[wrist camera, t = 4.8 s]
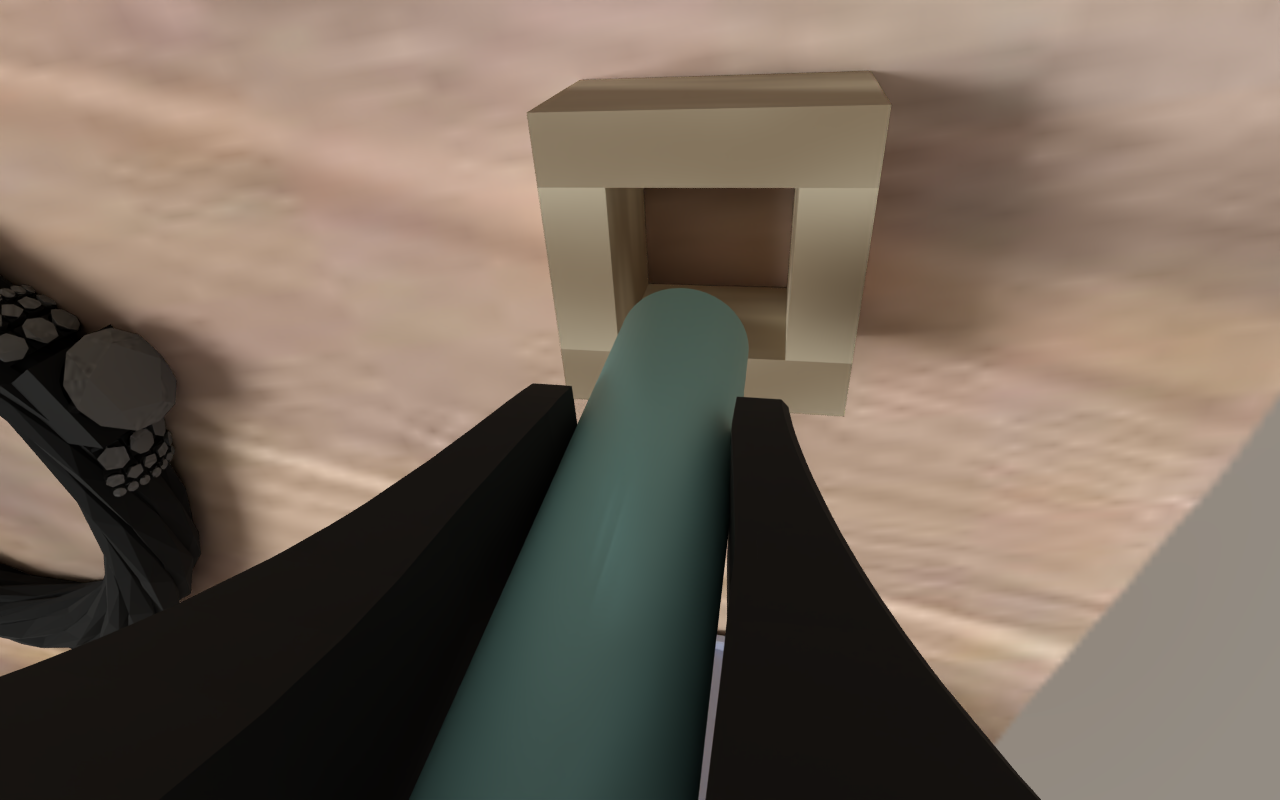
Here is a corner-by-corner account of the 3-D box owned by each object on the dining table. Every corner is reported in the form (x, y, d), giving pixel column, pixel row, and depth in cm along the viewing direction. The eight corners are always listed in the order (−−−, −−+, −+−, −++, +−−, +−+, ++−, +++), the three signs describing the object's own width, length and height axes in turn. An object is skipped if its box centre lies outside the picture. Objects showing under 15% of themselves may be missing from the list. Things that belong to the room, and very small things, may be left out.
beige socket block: (835, 336, 19) (844, 416, 16) (603, 326, 20) (567, 398, 17) (870, 70, 15) (891, 104, 12) (579, 80, 16) (526, 112, 13)
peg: (748, 403, 12) (683, 1045, 5) (626, 397, 13) (412, 977, 6) (749, 288, 11) (665, 941, 4) (613, 287, 12) (310, 864, 4)
